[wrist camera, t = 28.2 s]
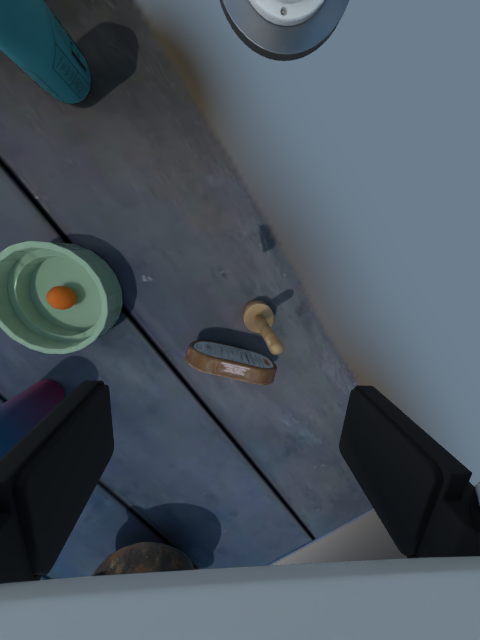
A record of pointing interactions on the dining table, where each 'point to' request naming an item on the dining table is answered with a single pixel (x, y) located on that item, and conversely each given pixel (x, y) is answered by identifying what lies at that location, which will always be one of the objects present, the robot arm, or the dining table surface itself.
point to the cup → (27, 412)
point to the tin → (231, 362)
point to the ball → (61, 297)
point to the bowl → (45, 273)
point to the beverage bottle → (43, 49)
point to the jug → (144, 560)
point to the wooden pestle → (262, 324)
